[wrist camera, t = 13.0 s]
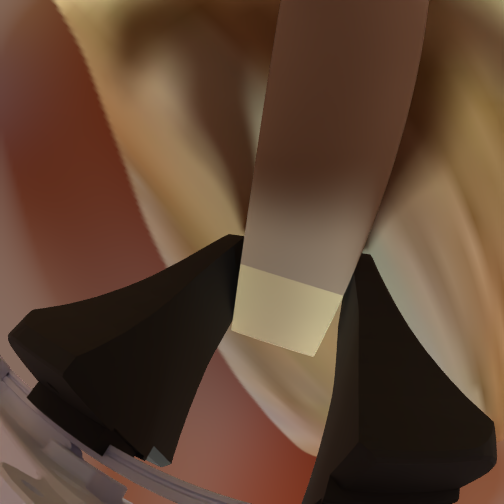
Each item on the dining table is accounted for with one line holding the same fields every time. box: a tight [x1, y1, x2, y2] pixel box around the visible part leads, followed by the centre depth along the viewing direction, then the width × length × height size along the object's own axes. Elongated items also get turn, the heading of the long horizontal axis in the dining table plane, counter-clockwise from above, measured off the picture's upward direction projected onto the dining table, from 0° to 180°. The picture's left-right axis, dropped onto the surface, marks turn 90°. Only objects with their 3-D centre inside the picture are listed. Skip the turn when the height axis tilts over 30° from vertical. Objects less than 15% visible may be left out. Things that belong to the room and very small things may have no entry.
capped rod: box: [232, 0, 429, 357], centre depth 7 cm, size 3×14×3 cm, turn 172°
